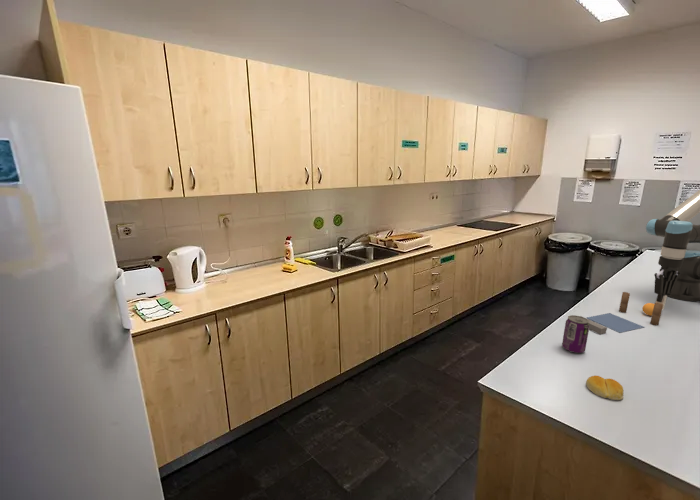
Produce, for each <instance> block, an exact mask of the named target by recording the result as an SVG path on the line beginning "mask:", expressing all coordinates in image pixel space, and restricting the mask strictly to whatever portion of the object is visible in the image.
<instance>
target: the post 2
mask: <svg viewBox="0 0 700 500" xmlns="http://www.w3.org/2000/svg"><path fill="white" fill-rule="evenodd" d="M653 304H654V309H653V313H652V316H650V322H649V324H650V325H653V326H659V325H660V321H661V316H662V312H663V310H662V308H663V304H661V303H656V302H654V303H653Z"/></svg>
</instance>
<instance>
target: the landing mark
mask: <svg viewBox="0 0 700 500" xmlns="http://www.w3.org/2000/svg"><path fill="white" fill-rule="evenodd" d="M586 319H589V320H591V321H593V322H595V323H598V324H600V325H602V326H604V327H607V329H610V330H613V332H617V333H619V334H622V333H625V332H630V331H634V330H638V329H639V330H640V329H644V328H645V326H643V325H641V324H638V323H636V322H633V321H631V320H628V319H626V318H623V317H621V316H619V315H616V314H614V313H611V312H608V313H603V314H598V315H592V316H588V317H586Z"/></svg>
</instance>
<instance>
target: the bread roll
mask: <svg viewBox="0 0 700 500" xmlns="http://www.w3.org/2000/svg"><path fill="white" fill-rule="evenodd" d="M585 385H586V387H587V389H588V390H589V391H591V392H592V393H593V394H595V396H598V397H600V398H603V399H606V398H607V399H609V400H612V401H620V400H623V399H624V387H623V385H622V384H621V383H620V382H619V381H617V380H615V379H613V378H604V377H602V376H600V375H591V376H589V377H588V378H587V379H586V381H585Z"/></svg>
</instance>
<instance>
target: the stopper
mask: <svg viewBox="0 0 700 500" xmlns="http://www.w3.org/2000/svg"><path fill="white" fill-rule="evenodd" d="M580 316H581V317H583V316H582V315H580ZM588 321H589V331H591V332H594V333H596V334H598V335H605V334H606V333H607V330H608V327H605V326H603V325H601V324H599V323H596V322H594V321H592V320H590V319H588Z"/></svg>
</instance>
